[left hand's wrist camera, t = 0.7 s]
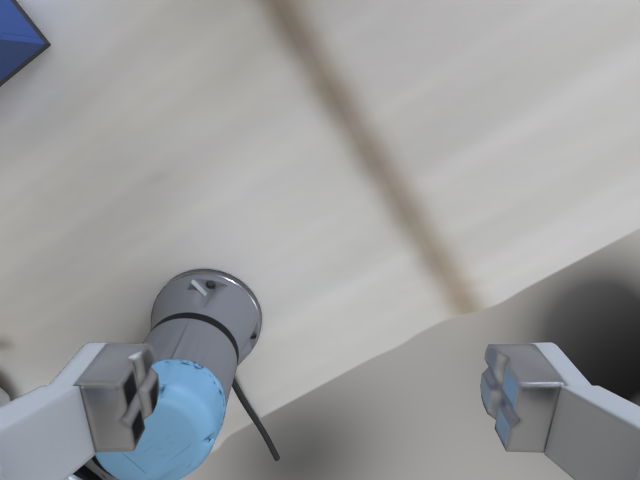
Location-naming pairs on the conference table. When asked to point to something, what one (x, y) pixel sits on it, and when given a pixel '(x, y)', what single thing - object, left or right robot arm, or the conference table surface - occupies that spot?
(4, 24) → the chest
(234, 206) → the conference table surface
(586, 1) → the conference table surface
